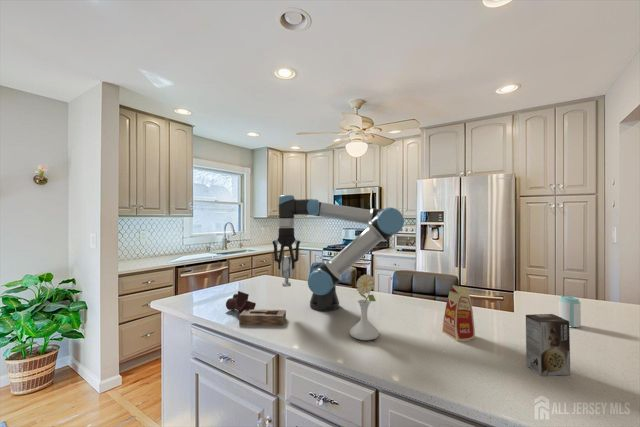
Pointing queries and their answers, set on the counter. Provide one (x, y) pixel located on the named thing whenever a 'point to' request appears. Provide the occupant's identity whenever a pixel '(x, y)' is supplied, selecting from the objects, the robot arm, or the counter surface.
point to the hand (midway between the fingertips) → (286, 275)
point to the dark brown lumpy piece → (240, 302)
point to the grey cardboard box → (548, 344)
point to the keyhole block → (262, 317)
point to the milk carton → (459, 315)
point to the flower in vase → (364, 310)
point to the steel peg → (286, 270)
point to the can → (570, 310)
